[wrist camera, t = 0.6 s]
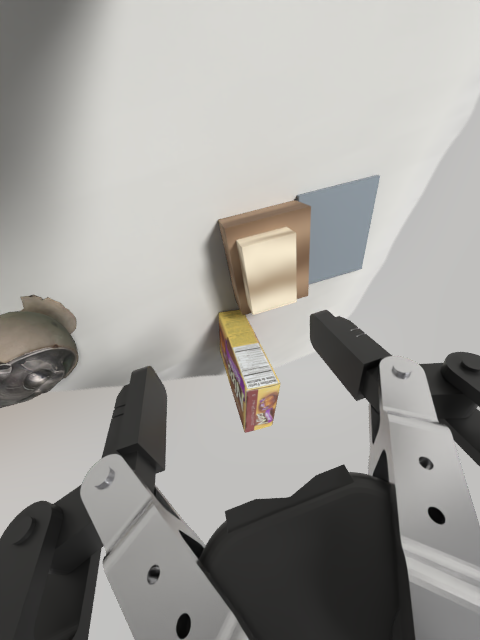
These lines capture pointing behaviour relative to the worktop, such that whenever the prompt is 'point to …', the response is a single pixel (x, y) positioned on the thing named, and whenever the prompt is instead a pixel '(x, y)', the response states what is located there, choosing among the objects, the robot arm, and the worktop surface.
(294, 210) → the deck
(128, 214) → the worktop surface
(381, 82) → the worktop surface
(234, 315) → the candy box
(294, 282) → the tile
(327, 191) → the mat
